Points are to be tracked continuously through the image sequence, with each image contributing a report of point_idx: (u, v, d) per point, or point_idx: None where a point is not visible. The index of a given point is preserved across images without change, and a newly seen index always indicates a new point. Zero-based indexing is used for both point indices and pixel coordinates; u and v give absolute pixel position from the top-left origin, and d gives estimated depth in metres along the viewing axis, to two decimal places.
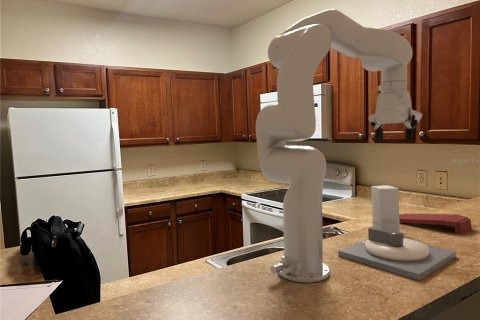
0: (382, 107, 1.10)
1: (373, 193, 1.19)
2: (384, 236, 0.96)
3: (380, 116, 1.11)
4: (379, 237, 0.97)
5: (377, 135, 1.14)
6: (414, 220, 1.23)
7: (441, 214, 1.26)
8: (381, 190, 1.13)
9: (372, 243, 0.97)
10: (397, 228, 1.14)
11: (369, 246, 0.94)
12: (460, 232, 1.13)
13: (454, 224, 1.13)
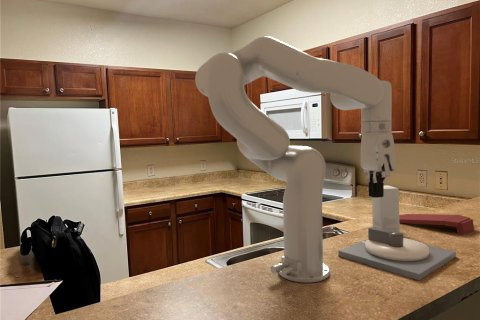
0: None
1: None
2: (384, 236, 0.96)
3: None
4: (379, 237, 0.97)
5: None
6: (416, 220, 1.22)
7: None
8: None
9: (372, 243, 0.97)
10: (397, 228, 1.14)
11: (369, 246, 0.94)
12: (462, 233, 1.12)
13: (456, 225, 1.13)
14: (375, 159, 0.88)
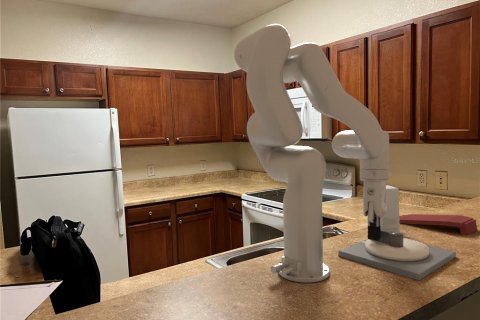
0: (383, 198, 0.92)
1: None
2: (384, 236, 0.96)
3: (382, 209, 0.92)
4: None
5: (379, 233, 0.95)
6: (418, 221, 1.21)
7: (446, 215, 1.25)
8: None
9: (372, 242, 0.97)
10: (397, 228, 1.14)
11: (368, 245, 0.95)
12: (465, 233, 1.11)
13: (459, 225, 1.12)
14: None
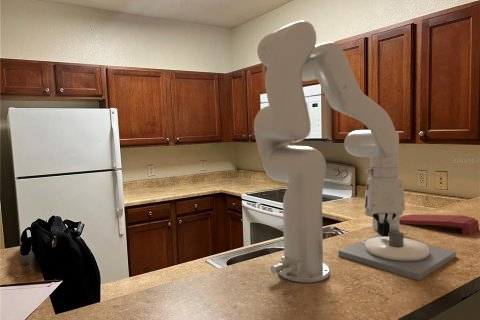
0: (379, 195, 0.96)
1: None
2: None
3: (377, 205, 0.97)
4: None
5: (384, 230, 0.98)
6: (420, 221, 1.21)
7: (447, 215, 1.24)
8: None
9: (383, 238, 1.00)
10: None
11: (372, 238, 1.01)
12: (468, 233, 1.11)
13: (461, 225, 1.11)
14: None
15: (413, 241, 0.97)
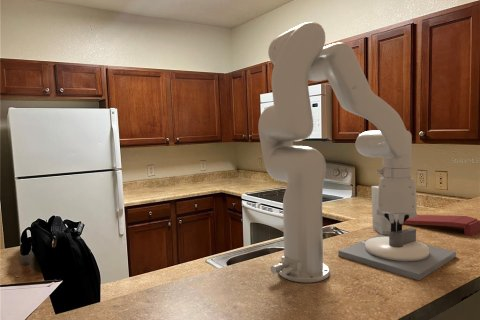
0: (387, 195, 0.97)
1: (373, 193, 1.19)
2: None
3: (384, 205, 0.98)
4: None
5: (394, 230, 0.98)
6: (422, 222, 1.20)
7: None
8: None
9: None
10: None
11: (387, 237, 1.02)
12: (470, 234, 1.10)
13: (464, 226, 1.11)
14: None
15: (423, 246, 0.93)
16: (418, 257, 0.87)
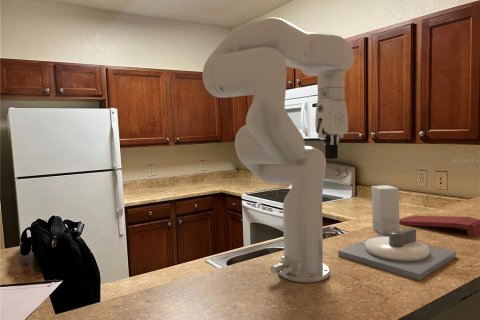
0: (334, 115, 0.96)
1: (373, 193, 1.19)
2: None
3: (332, 126, 0.96)
4: None
5: (335, 151, 0.99)
6: (424, 223, 1.19)
7: None
8: (381, 190, 1.13)
9: None
10: (397, 228, 1.14)
11: (387, 237, 1.02)
12: (473, 235, 1.09)
13: (467, 227, 1.09)
14: None
15: (423, 246, 0.93)
16: (418, 257, 0.87)
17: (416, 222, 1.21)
